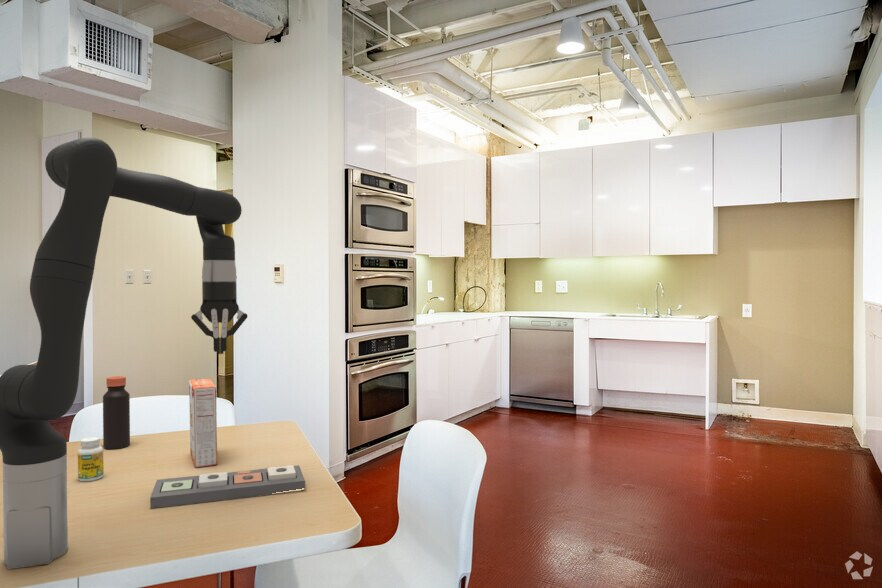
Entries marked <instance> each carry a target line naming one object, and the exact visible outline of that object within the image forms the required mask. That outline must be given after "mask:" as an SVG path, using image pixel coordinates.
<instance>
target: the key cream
mask: <svg viewBox="0 0 882 588" xmlns="http://www.w3.org/2000/svg"><path fill="white" fill-rule="evenodd" d="M294 466H295V465H294V464H292V465H283V466H273V467H272V466H271V467H267V468H266V469H267V476H268V481H272V480H281V479H290V478H296V472H295V469H294Z"/></svg>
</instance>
